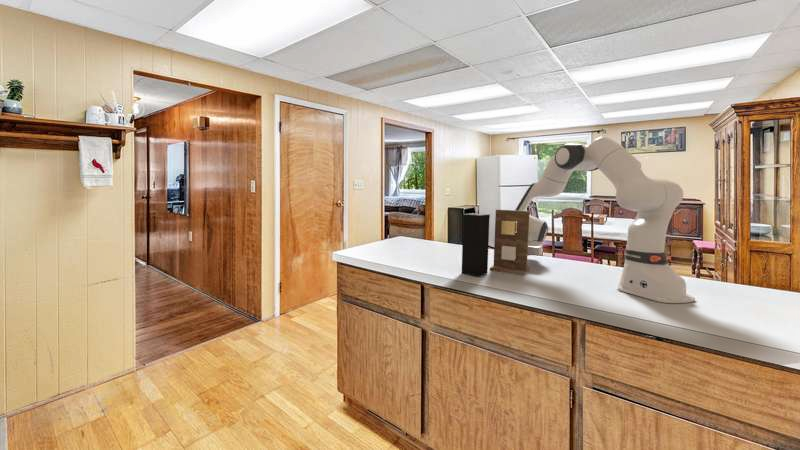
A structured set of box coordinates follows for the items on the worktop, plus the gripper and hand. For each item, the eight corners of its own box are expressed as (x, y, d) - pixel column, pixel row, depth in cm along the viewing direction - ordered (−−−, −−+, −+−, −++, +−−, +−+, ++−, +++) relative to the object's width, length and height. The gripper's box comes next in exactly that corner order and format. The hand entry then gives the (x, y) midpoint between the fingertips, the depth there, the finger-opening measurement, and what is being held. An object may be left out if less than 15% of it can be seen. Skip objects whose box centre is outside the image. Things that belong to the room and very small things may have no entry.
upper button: (506, 232, 157) (506, 219, 157) (519, 233, 154) (519, 220, 153) (501, 233, 152) (501, 220, 151) (514, 235, 148) (515, 221, 148)
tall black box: (487, 273, 150) (490, 206, 147) (477, 277, 144) (480, 207, 141) (471, 270, 155) (473, 205, 152) (461, 273, 150) (463, 206, 147)
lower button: (506, 256, 160) (507, 243, 159) (519, 257, 157) (519, 245, 156) (501, 258, 154) (501, 246, 154) (514, 260, 151) (515, 247, 150)
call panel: (497, 266, 164) (500, 208, 161) (529, 270, 156) (532, 210, 153) (489, 270, 156) (492, 210, 153) (522, 275, 148) (525, 211, 145)
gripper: (501, 237, 176) (491, 241, 164) (545, 241, 164) (538, 246, 153) (501, 250, 176) (491, 255, 165) (545, 255, 165) (537, 260, 154)
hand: (514, 250), depth 159 cm, fingers closed
